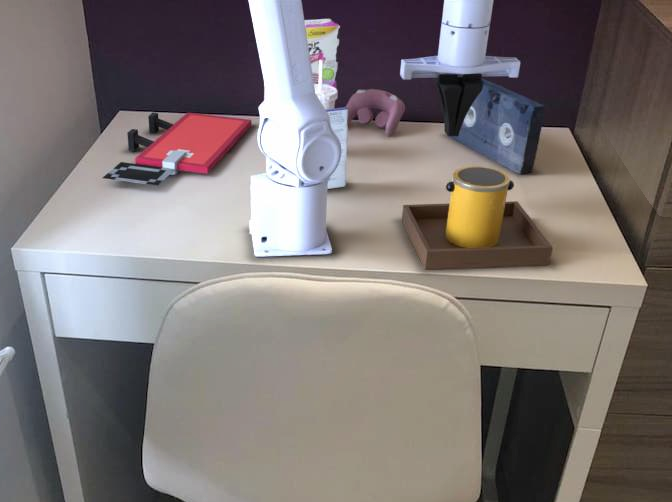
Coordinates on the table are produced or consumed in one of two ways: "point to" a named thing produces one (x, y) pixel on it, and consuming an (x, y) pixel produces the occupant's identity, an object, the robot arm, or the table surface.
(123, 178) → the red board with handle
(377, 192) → the table surface
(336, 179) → the ink box
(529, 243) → the tray
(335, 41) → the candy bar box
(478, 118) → the vhs cassette tape
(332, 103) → the smoothie
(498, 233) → the pot
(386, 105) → the video game controller
